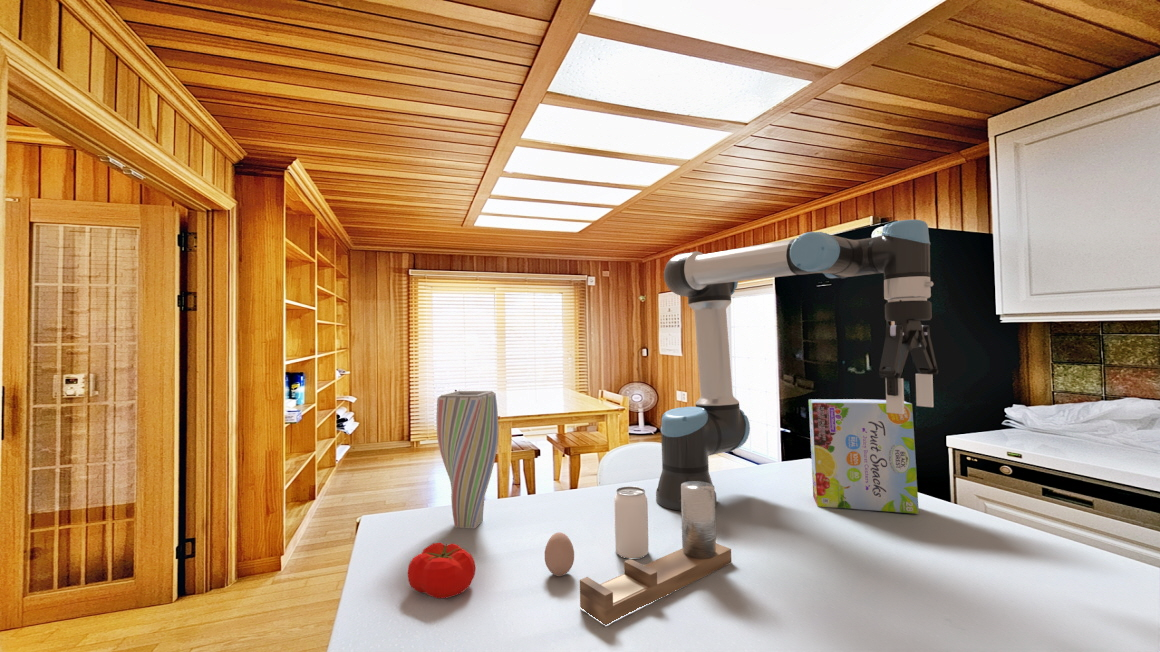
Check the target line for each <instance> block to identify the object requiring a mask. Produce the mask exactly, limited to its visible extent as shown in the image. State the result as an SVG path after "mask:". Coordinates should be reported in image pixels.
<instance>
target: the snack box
mask: <svg viewBox="0 0 1160 652" xmlns="http://www.w3.org/2000/svg"><path fill="white" fill-rule="evenodd" d="M808 412H809V413H808V414H809V417H808V418H809V431H810V432H809V434H810V452H811V453H810V454H811V455H810V457H811V459H810V460H811V476H812V477H811V479H812V495H813V496H812V497H813V499H814V501H815V503H816V506H817V508H818V507H819V508H836V509H851V510H863V511H876V512H877V511H878V512H889V513H890V512H891V513H902V514H903V513H904V514H905V513H906V514H917V515H918V514H920V512H919V511H920V510H919V497H918V495H919V493H918V479H917V463H916V462H917V461H916V447H915V446H916V444H915V431H914V414H913V403H911V402H907V401H906V400H904V414H896V413H886V399H869V398H868V399H866V398H865V399H863V398H856V399H855V398H853V399H851V398H850V399H848V398H846V399H845V398H843V399H838V398H837V399H831V398H830V399H825V398H824V399H821V398H818V399H816V398H815V399H812V398H811V399H810V398H809V399H808Z"/></svg>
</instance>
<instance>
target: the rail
mask: <svg viewBox="0 0 1160 652" xmlns="http://www.w3.org/2000/svg"><path fill="white" fill-rule="evenodd" d="M730 564H732V548H730V547H727V546H725V545H721V544H719V543H717V542H716V556H715V557H713V558H711V559H705V560H701V559H694V558H690V557H688V556H686V555H685V554H684V553H683V548H680V549H678V550H675V551H673V552H671V553H669V554H666V555H663V556H662V557H660V558H657V559H655V560H652V561H651V562H648V563H646V564H642V563H640V562H639V561H636V560H635V559H626V560H624V562H623V565H624V566H623V568H624V571H623V572H624V573H623V574H620V575H618V576H616V577H612V578H610V579H609V580H607V581H604V582H602V583H599V582H597V581H595V580H594V579H592V578H590V577H589V576H586V577H582V578H580V579H579V608H580V607H581V608H582V609H584V610H585V611H586V612H587V613H589V614H590V615H592V616H593V617H595V618H596V619H598V620H599V621H601V622H602V623H603V624H605V625H607V624H609V623H611V622H612V621H614V620H616V619H618V618H620V617H621V616H624V615H626V614H628V613H629V612H632V611H634V610H636V609H637V608H639V607H642V606H644V605H646V604H649V603H651V602H653V601H655V600H657V599H659V598H661V597H663V598H665V597H667V596H668V595H667V594H669V595H671V594H673V593H675V592H676V591H675V590H677V591H679V590H681V589H682V587H683V588H684V586H685V587H687V586H689V585H691V584H693V583H695V582H696V580H697V581H699V580H700V579H703V578H704V577H706V576H708V575H710V574H712V573H714V572H716V571H718V570H720V569H721V568H724V567H726V566H728V565H730ZM694 581H695V582H694ZM688 584H689V585H688ZM680 588H681V589H680ZM678 589H679V590H678ZM674 591H675V592H674ZM672 592H673V593H672ZM670 593H671V594H670ZM666 595H667V596H666ZM664 596H665V597H664Z"/></svg>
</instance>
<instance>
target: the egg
mask: <svg viewBox="0 0 1160 652" xmlns="http://www.w3.org/2000/svg"><path fill="white" fill-rule="evenodd" d="M574 561H575V550H574V545H573V544H572V541H571V539H570V538H569V536H568V535H567V534H565V533H563V532H558V531H557V532H556V533H554V534H552V535H551V536H550V537H549V539H548V541H547V544H546V545H545V549H544V562H545V565H546V567H547V569H548V571H549V572H550V573H551V574H552V575H554V576H557V577H563V576H565V575H566V574H567V573H569V572H570V570H571V569H572V567H573V564H574Z"/></svg>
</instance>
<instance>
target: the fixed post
mask: <svg viewBox="0 0 1160 652" xmlns="http://www.w3.org/2000/svg"><path fill="white" fill-rule="evenodd" d="M712 484H713V483H712ZM712 484H710V483H706V482H700V481H689V482H684V483H682V484H681V507H682V511H681V538H682V539H681V541H682V542H681V543H682V548H683V553H684V554H685V555H686V556H688V557H690V558H694V559H701V560H705V559H711V558H713V557H715V556H716V543H717V538H716V537H717V535H716V531H717V530H716V529H717V527H716V526H717V525H716V506H715V492H716V491H715V485H714V484H713V485H712ZM682 548H681V549H682Z"/></svg>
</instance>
